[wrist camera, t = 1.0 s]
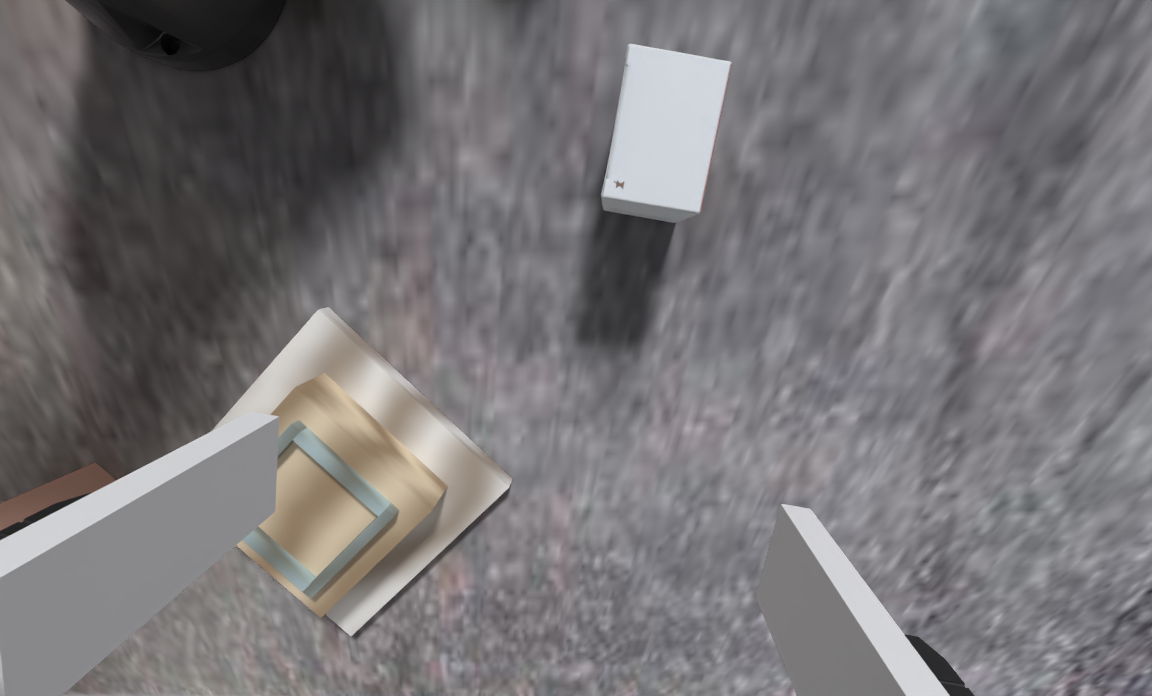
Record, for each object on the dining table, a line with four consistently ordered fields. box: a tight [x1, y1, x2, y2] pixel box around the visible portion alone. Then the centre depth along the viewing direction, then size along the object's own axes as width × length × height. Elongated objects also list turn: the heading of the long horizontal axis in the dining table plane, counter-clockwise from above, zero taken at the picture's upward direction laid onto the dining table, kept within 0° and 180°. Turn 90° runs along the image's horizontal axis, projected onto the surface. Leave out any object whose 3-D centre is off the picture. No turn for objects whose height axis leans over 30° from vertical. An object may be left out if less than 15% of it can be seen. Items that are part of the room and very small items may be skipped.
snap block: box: [0, 462, 116, 531], centre depth 41 cm, size 6×6×11 cm
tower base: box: [212, 307, 512, 636], centre depth 41 cm, size 20×20×6 cm
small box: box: [601, 44, 732, 223], centre depth 33 cm, size 8×6×10 cm
